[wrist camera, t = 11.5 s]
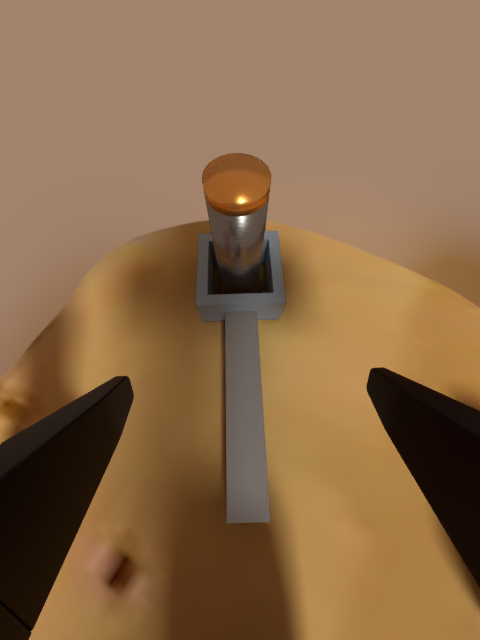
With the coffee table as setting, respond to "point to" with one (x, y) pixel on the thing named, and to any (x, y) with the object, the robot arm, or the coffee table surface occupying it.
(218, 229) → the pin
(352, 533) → the coffee table surface
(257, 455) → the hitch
